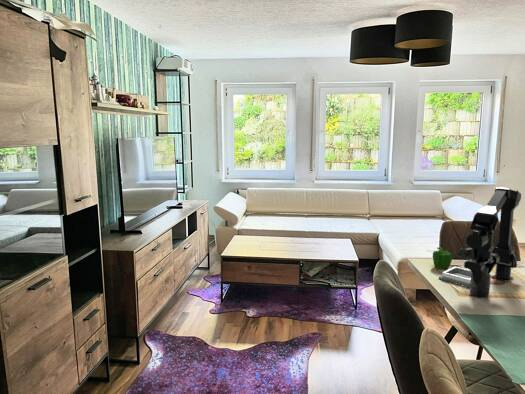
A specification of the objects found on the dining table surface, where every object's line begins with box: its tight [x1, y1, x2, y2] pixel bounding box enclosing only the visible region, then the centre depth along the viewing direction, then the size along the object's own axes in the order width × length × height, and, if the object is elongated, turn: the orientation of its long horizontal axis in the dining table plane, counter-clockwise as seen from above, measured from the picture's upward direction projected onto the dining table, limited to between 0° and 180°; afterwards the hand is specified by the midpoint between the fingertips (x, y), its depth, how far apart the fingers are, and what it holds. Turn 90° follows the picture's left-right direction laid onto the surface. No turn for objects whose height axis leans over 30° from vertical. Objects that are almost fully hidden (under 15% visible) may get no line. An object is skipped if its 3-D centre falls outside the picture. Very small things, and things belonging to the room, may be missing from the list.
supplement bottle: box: [469, 266, 492, 299], centre depth 158 cm, size 7×7×12 cm
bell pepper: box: [432, 246, 453, 270], centre depth 190 cm, size 8×8×10 cm
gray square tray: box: [438, 266, 472, 288], centre depth 175 cm, size 14×14×3 cm
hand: (480, 281), depth 158 cm, fingers closed on supplement bottle, 7 cm apart
